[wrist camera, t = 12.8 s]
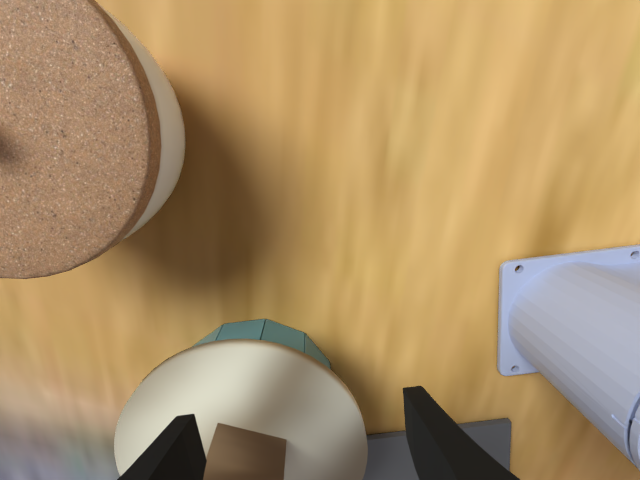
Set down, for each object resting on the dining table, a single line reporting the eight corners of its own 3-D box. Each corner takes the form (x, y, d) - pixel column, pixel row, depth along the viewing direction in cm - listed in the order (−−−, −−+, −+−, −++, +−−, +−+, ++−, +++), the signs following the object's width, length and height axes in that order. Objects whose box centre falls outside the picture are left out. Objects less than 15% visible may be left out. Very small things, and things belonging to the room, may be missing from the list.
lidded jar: (192, 250, 20) (98, 335, 11) (1, 200, 19) (-276, 249, 10) (232, 59, 18) (151, -34, 8) (13, -12, 16) (-350, -208, 7)
